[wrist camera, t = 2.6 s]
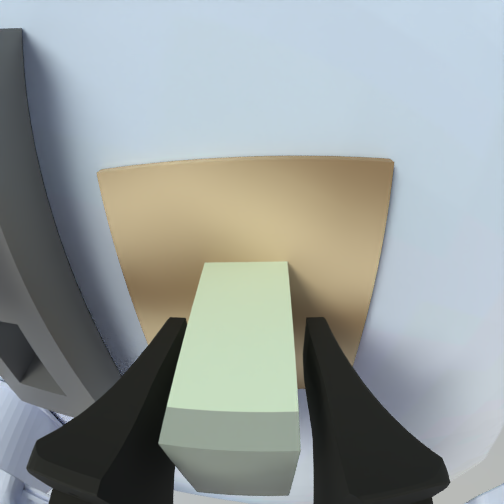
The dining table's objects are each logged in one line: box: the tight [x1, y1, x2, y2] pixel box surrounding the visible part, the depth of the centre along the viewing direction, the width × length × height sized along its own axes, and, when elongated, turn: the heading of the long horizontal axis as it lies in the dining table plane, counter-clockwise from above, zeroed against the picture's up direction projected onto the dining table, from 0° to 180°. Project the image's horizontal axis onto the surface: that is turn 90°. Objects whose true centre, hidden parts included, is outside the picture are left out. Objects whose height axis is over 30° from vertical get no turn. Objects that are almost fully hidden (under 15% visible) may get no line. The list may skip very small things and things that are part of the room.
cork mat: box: [97, 156, 394, 389], centre depth 13 cm, size 12×10×1 cm
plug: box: [158, 261, 301, 496], centre depth 10 cm, size 4×3×7 cm, turn 3°
